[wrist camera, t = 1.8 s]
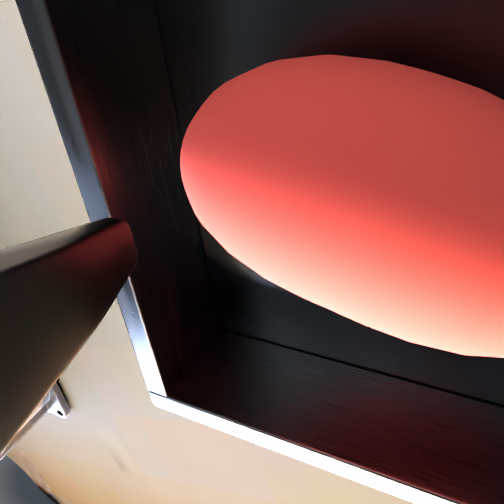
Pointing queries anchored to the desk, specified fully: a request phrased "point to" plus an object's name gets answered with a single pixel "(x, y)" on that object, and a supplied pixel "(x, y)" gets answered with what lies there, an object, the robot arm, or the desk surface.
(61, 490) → the desk surface
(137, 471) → the desk surface
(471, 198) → the stress ball
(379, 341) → the dark grey square tray
